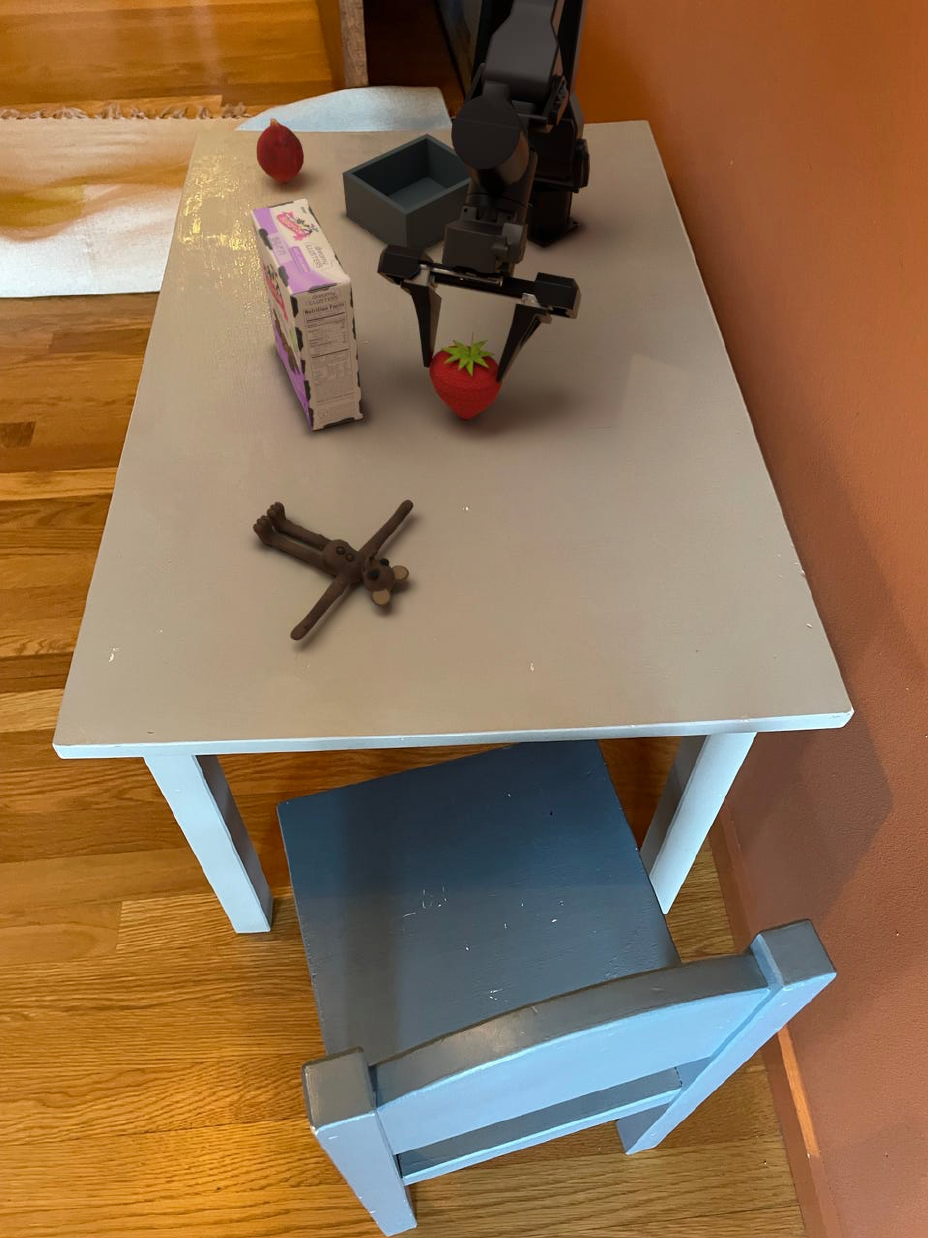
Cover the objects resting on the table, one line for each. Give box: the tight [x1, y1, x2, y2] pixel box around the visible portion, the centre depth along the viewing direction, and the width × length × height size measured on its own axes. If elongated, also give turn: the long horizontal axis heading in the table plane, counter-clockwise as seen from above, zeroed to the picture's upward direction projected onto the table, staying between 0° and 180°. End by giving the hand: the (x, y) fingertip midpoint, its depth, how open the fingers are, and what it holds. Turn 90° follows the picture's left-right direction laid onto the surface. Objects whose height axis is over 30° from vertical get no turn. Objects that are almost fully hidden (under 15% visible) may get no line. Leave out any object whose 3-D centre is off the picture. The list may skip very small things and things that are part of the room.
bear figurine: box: [252, 499, 414, 641], centre depth 81 cm, size 18×4×14 cm
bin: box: [342, 133, 471, 251], centre depth 111 cm, size 14×12×6 cm
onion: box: [256, 117, 305, 184], centre depth 113 cm, size 6×6×8 cm
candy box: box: [249, 198, 364, 431], centre depth 89 cm, size 14×6×16 cm, turn 22°
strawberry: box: [428, 331, 503, 420], centre depth 89 cm, size 6×8×10 cm
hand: (461, 374), depth 87 cm, fingers closed on strawberry, 7 cm apart
